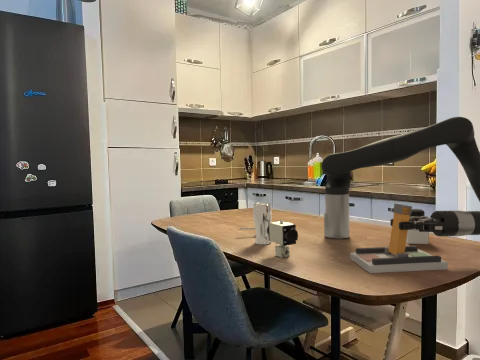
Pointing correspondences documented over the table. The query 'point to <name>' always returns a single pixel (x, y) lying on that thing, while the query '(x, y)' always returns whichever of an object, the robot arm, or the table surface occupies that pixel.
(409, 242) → the medicine bottle
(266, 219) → the beer glass
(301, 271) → the table surface
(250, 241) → the table surface
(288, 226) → the pneumatic valve
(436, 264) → the breaker panel
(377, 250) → the dark grey mounting rails
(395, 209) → the lever
